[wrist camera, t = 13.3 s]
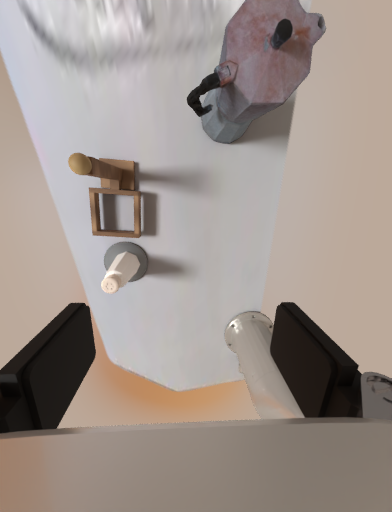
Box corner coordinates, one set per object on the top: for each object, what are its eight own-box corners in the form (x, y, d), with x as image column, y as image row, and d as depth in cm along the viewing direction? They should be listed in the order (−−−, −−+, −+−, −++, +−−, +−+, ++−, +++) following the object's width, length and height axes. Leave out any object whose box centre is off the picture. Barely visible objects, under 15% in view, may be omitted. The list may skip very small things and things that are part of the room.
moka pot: (272, 121, 37) (368, 46, 18) (199, 166, 38) (217, 141, 19) (250, 65, 34) (338, -98, 15) (173, 115, 35) (163, 26, 16)
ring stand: (141, 234, 41) (118, 259, 26) (99, 232, 41) (49, 256, 25) (141, 162, 37) (113, 141, 22) (93, 158, 37) (30, 133, 21)
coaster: (147, 281, 45) (147, 282, 44) (106, 280, 44) (105, 281, 43) (147, 243, 42) (147, 243, 42) (103, 240, 41) (102, 241, 41)
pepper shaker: (139, 251, 42) (126, 271, 32) (140, 275, 44) (127, 301, 33) (113, 250, 42) (90, 270, 31) (115, 274, 43) (93, 301, 33)
